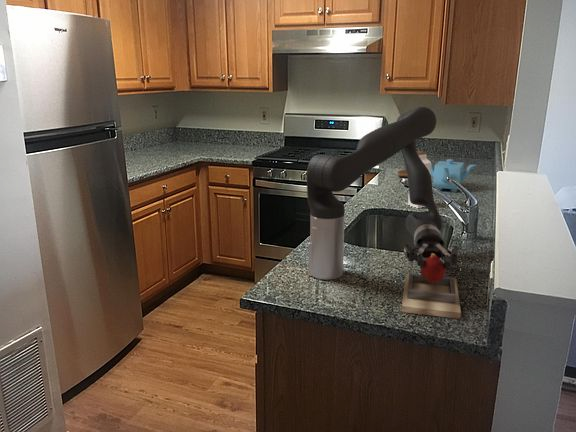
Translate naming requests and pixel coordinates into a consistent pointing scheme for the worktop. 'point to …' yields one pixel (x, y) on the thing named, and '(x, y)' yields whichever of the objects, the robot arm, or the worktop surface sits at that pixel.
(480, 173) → the worktop surface
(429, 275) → the red rounded piece
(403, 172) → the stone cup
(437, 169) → the teakettle
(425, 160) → the milk
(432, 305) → the tray
